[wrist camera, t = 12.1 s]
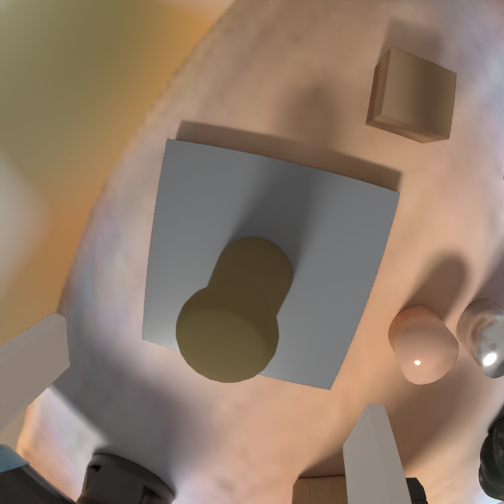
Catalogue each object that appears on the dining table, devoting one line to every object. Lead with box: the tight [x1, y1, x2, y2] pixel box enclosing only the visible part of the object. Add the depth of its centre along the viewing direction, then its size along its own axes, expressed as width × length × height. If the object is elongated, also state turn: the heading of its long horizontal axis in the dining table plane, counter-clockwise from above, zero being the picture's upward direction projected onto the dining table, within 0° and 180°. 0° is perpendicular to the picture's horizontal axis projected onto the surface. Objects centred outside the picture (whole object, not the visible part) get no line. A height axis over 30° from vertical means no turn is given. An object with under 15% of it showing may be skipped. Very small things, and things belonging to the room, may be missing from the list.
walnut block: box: [366, 47, 457, 143], centre depth 18 cm, size 5×5×5 cm
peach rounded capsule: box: [388, 305, 459, 384], centre depth 23 cm, size 5×5×5 cm
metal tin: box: [457, 299, 504, 378], centre depth 21 cm, size 5×5×6 cm
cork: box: [176, 237, 293, 383], centre depth 19 cm, size 6×6×11 cm
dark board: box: [142, 139, 400, 390], centre depth 25 cm, size 18×18×2 cm
